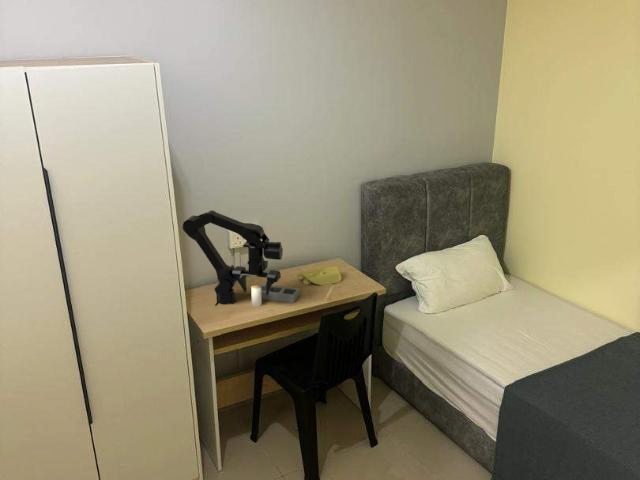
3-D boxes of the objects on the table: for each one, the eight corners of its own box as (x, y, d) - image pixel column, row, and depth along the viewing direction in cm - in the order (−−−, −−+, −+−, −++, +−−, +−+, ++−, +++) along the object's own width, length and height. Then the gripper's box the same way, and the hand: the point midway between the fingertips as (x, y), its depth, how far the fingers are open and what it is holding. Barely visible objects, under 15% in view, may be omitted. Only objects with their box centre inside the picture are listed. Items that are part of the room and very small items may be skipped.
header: (251, 300, 241) (251, 291, 240) (257, 292, 248) (257, 283, 247) (293, 305, 237) (293, 296, 236) (298, 297, 245) (298, 288, 243)
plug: (250, 306, 234) (249, 287, 231) (253, 302, 238) (253, 283, 235) (259, 308, 233) (259, 288, 230) (263, 303, 237) (262, 284, 234)
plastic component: (326, 268, 269) (339, 265, 261) (329, 283, 269) (342, 281, 261) (291, 274, 258) (303, 271, 250) (294, 291, 257) (306, 288, 249)
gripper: (284, 252, 234) (284, 288, 239) (240, 248, 238) (241, 283, 243) (276, 262, 224) (276, 299, 229) (230, 257, 228) (231, 294, 233)
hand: (256, 293), depth 234 cm, fingers open, 9 cm apart
